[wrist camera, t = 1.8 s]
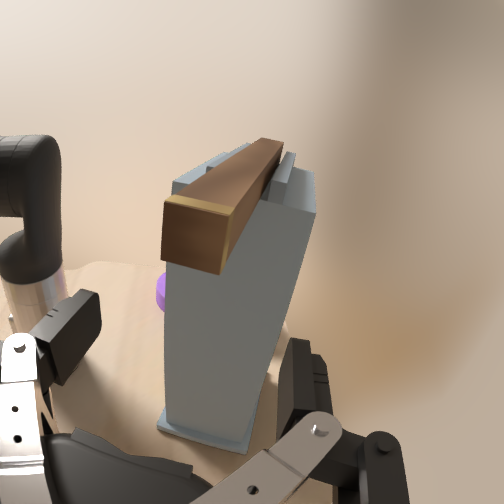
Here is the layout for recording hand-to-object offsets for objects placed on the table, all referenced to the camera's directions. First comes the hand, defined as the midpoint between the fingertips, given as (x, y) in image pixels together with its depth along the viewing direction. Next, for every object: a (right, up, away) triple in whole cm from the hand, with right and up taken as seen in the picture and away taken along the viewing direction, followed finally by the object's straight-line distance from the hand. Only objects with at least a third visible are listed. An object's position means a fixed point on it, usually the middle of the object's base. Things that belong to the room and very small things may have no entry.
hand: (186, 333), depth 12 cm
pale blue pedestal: (-3, -18, +30) cm, 35 cm away
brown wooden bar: (+2, +8, +10) cm, 13 cm away
